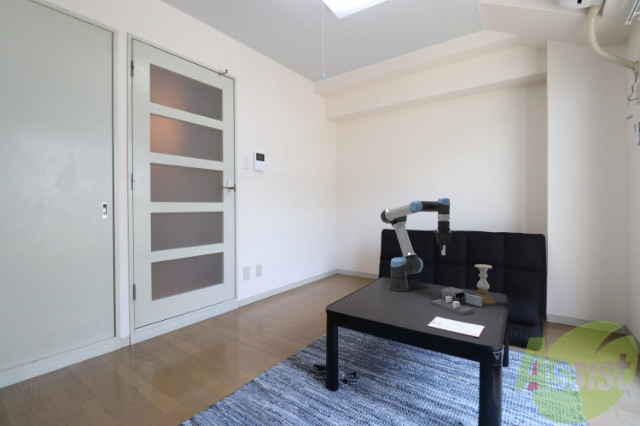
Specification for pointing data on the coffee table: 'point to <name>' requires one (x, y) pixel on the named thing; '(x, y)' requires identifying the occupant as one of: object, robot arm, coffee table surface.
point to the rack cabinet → (453, 294)
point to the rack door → (473, 299)
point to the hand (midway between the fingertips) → (443, 254)
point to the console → (449, 306)
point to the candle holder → (484, 285)
